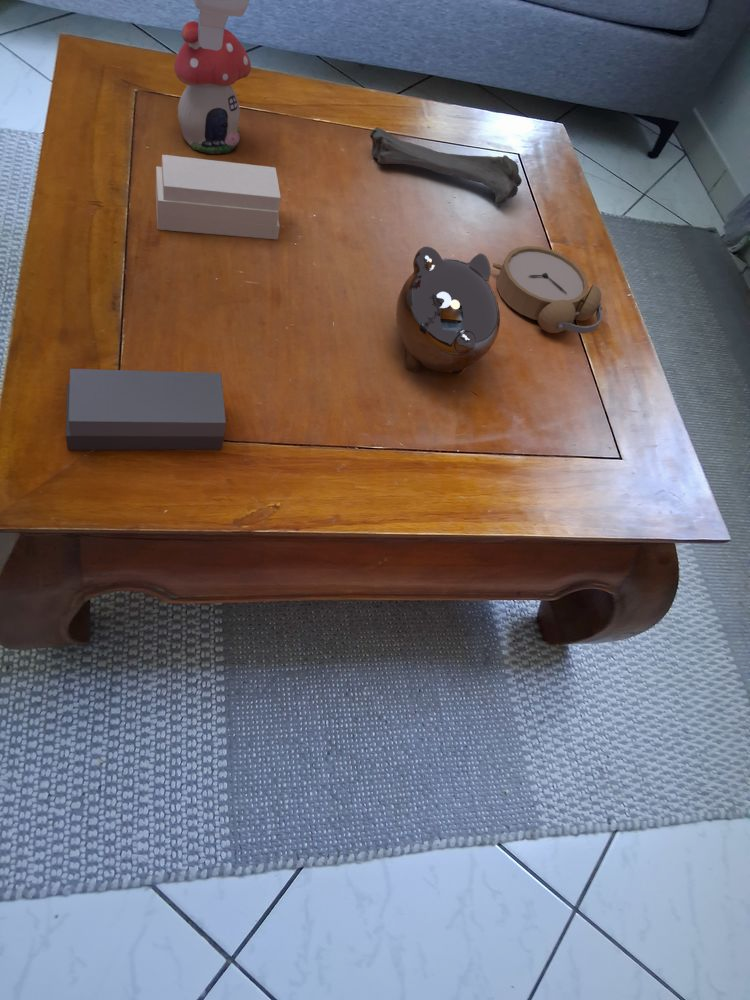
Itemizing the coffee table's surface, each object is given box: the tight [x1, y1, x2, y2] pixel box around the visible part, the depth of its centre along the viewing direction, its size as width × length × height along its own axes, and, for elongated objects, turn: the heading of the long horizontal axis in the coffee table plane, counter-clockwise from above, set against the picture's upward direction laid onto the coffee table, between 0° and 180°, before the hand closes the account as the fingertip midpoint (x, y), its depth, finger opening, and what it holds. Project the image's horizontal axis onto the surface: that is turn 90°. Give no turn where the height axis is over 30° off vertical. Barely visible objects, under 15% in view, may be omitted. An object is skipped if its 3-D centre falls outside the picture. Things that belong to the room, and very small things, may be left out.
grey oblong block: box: [155, 166, 281, 240], centre depth 90 cm, size 14×6×4 cm, turn 100°
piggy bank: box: [395, 246, 501, 375], centre depth 84 cm, size 11×15×12 cm
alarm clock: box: [492, 245, 603, 334], centre depth 97 cm, size 11×5×15 cm
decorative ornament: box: [173, 20, 252, 155], centre depth 93 cm, size 9×6×15 cm
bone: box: [369, 126, 523, 207], centre depth 105 cm, size 22×6×6 cm, turn 83°
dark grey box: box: [65, 368, 227, 451], centre depth 72 cm, size 14×6×4 cm, turn 100°
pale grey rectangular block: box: [161, 154, 282, 211], centre depth 88 cm, size 13×6×2 cm, turn 100°
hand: (205, 12), depth 62 cm, fingers open, 8 cm apart
